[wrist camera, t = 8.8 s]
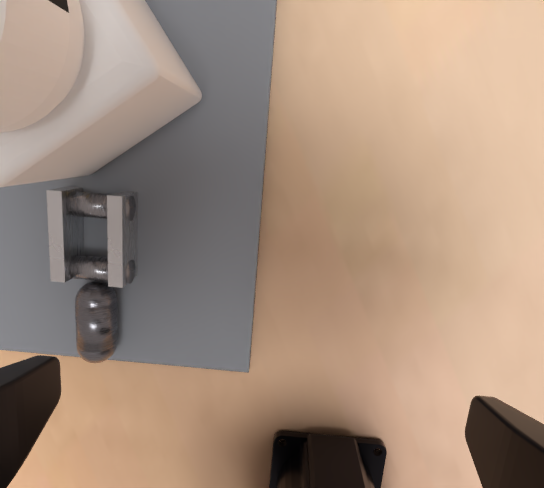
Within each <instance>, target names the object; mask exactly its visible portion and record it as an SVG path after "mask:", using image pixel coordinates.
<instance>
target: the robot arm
mask: <svg viewBox="0 0 544 488" xmlns="http://www.w3.org/2000/svg"><path fill="white" fill-rule="evenodd" d="M60 395H61V376H60V362H59V360H58V359H57V358H56V357H52V356H41V355H40V356H35V357H32V358H29V359H26V360H23V361H20V362H17V363H14V364H11V365H8V366H5V367H2V368H0V488H7V486H8V485H9V484H10V482H11V481H12V479H13V478H14V476H15V475H16V473H17V472H18V470H19V469H20V468H21V466H22V464H23V463H24V461H25V459H26V458H27V456H28V454H29V453H30V451H31V449H32V447H33V446H34V444H35V442H36V440H37V439H38V437H39V435H40V433H41V432H42V430H43V428H44V426H45V425H46V423H47V421H48V419H49V418H50V416H51V414H52V412H53V411H54V409H55V407H56V406H57V404H58V402H59V399H60ZM465 437H466V442H467V445H468V447H469V450H470V453H471V456H472V459H473V461H474V464H475V467H476V470H477V473H478V475H479V478H480V481H481V484H482V487H483V488H544V424H542V423H540V422H539V421H537V420H535V419H533V418H531V417H530V416H528V415H526V414H524V413H522V412H520V411H519V410H517V409H515V408H513V407H511V406H510V405H508V404H506V403H504V402H502V401H500V400H499V399H497V398H494V397H487V396H475V397H474V398H473V399H472V401H471V405H470V409H469V414H468V418H467V423H466V427H465ZM280 439H284V440H285V442H280V441H279V440H280ZM376 448H379V449H380V450H378V451H375V449H376ZM385 459H386V447H385V445H384V443H383V442H382V441H380V440H375V439H365V438H354V437H344V436H334V435H323V434H311V433H300V432H290V431H279V432H277V433H276V434H275V436H274V442H273V452H272V463H271V473H270V484H269V488H381V482H382V476H383V471H384V465H385Z"/></svg>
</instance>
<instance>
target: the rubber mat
mask: <svg viewBox="0 0 544 488" xmlns="http://www.w3.org/2000/svg"><path fill="white" fill-rule="evenodd" d="M145 1H146V3H147V4H148V6H149V8H150V9H151V11H152V12H153V14H154V16H155V17H156V19H157V21H158V22H159V24H160V25H161V27H162V29H163V30H164V32H165V34H166V35H167V37H168V38H169V40H170V42H171V43H172V45H173V47H174V48H175V50H176V51H177V53H178V55H179V56H180V58H181V60H182V61H183V63H184V64H185V66H186V68H187V69H188V71H189V73H190V74H191V76H192V78H193V79H194V81H195V82H196V84H197V86H198V87H199V89H200V91H201V93H202V98H201V100H200V101H199V102H198V103H197V104H195V105H194V106H192V107H191V108H189V109H188V110H186V111H185V112H183V113H182V114H180V115H179V116H177V117H176V118H174V119H173V120H172V121H170V122H169V123H167V124H166V125H164V126H163V127H161V128H160V129H158V130H157V131H155V132H154V133H152V134H151V135H149V136H148V137H146V138H145V139H143V140H142V141H140V142H139V143H137V144H136V145H134V146H133V147H131V148H130V149H128V150H127V151H125V152H124V153H122V154H121V155H119V156H118V157H116V158H115V159H113V160H112V161H110V162H109V163H107V164H106V165H104V166H103V167H102V168H100V169H99V170H97V171H96V172H94V173H93V174H91V175H88V176H80V177H73V178H66V179H58V180H51V181H43V182H36V183H29V184H21V185H14V186H7V187H0V350H9V351H20V352H31V353H42V354H53V355H64V356H75V357H80V355H79V354H78V351H77V347H76V322H75V297H76V294H77V292H78V290H79V289H80V288H81V287H82V286H83V285H85V284H86V283H89V282H92V281H93V280H82V279H70V280H69V281H67V282H65V283H64V282H52V281H51V277H50V256H49V235H48V214H47V193H46V190H50V189H56V188H61V187H67V186H73V187H83V192H88V193H100V194H114V193H118V192H121V191H132V192H138V252H137V276H136V277H135V278H134V280H133V282H132V283H131V284H126V285H125V286H124V287H123V288H120V287H113V288H114V290H115V292H116V294H117V316H118V343H117V348H116V350H115V352H114V354H113V355H112V356H111V357H110V358H108V359H107V360H118V361H129V362H140V363H151V364H162V365H173V366H184V367H195V368H206V369H217V370H228V371H239V372H249V366H250V353H251V339H252V326H253V313H254V299H255V286H256V273H257V259H258V246H259V233H260V219H261V206H262V193H263V179H264V166H265V153H266V139H267V126H268V113H269V99H270V86H271V73H272V60H273V46H274V33H275V20H276V6H277V0H145ZM84 251H85V256H94V257H106V258H108V235H107V219H101V218H89V217H84ZM103 282H105V281H103ZM106 283H108V282H106Z"/></svg>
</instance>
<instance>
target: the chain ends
mask: <svg viewBox="0 0 544 488" xmlns="http://www.w3.org/2000/svg"><path fill="white" fill-rule="evenodd" d="M46 193H47V214H48V235H49V256H50V277H51V281H52V282H64V283H65V282H67V281H69V280H70V279H82V280H93V281H92V282H89V283H86V284H85V285H83V286H82V287H81V288H80V289H79V290H78V292H77V294H76V297H75V322H76V347H77V351H78V354H79V355H80V357H81V358H83V359H84V360H85V361H88V362H91V363H99V362H103V361H105V360H107V359H108V358H110V357H111V356H112V355H113V354H114V352H115V350H116V348H117V343H118V316H117V294H116V292H115V290H114V288H113V287H120V288H123V287H124V286H125V285H126V284H131V283H132V282H133V280H134V278H135V277H136V276H137V252H138V192H132V191H121V192H118V193H114V194H100V193H88V192H83V187H73V186H67V187H61V188H56V189H50V190H46ZM84 217H89V218H101V219H107V235H108V258H106V257H94V256H85V251H84ZM103 281H105V282H103ZM106 282H108V283H106Z"/></svg>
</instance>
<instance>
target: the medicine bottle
mask: <svg viewBox="0 0 544 488" xmlns="http://www.w3.org/2000/svg"><path fill="white" fill-rule="evenodd" d="M201 98H202V93H201V91H200V89H199V87H198V86H197V84H196V82H195V81H194V79H193V78H192V76H191V74H190V73H189V71H188V69H187V68H186V66H185V64H184V63H183V61H182V60H181V58H180V56H179V55H178V53H177V51H176V50H175V48H174V47H173V45H172V43H171V42H170V40H169V38H168V37H167V35H166V34H165V32H164V30H163V29H162V27H161V25H160V24H159V22H158V21H157V19H156V17H155V16H154V14H153V12H152V11H151V9H150V8H149V6H148V4H147V3H146V1H145V0H0V187H7V186H14V185H21V184H29V183H36V182H43V181H51V180H58V179H66V178H73V177H80V176H88V175H91V174H93V173H94V172H96V171H97V170H99V169H100V168H102V167H103V166H104V165H106V164H107V163H109V162H110V161H112V160H113V159H115V158H116V157H118V156H119V155H121V154H122V153H124V152H125V151H127V150H128V149H130V148H131V147H133V146H134V145H136V144H137V143H139V142H140V141H142V140H143V139H145V138H146V137H148V136H149V135H151V134H152V133H154V132H155V131H157V130H158V129H160V128H161V127H163V126H164V125H166V124H167V123H169V122H170V121H172V120H173V119H174V118H176V117H177V116H179V115H180V114H182V113H183V112H185V111H186V110H188V109H189V108H191V107H192V106H194V105H195V104H197V103H198V102H199V101H200V100H201Z"/></svg>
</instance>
